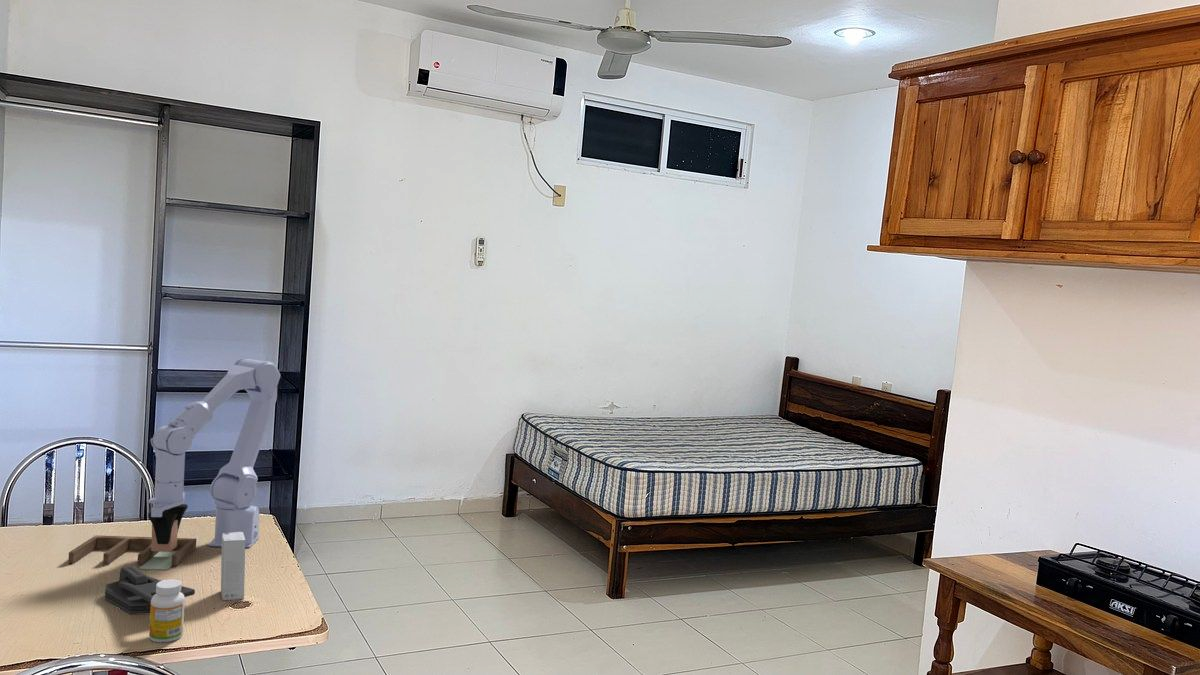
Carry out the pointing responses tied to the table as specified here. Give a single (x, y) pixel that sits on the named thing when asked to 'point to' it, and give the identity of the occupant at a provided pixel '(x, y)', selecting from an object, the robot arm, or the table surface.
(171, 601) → the supplement bottle
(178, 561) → the notched rack
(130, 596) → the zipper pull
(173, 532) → the terracotta block
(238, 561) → the skincare box
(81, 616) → the table surface
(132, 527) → the table surface
